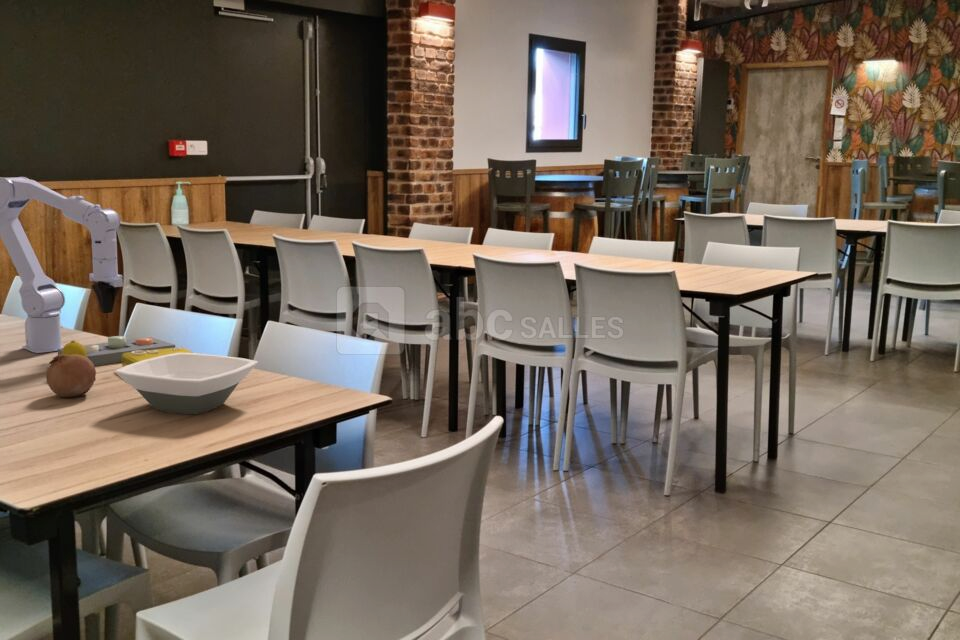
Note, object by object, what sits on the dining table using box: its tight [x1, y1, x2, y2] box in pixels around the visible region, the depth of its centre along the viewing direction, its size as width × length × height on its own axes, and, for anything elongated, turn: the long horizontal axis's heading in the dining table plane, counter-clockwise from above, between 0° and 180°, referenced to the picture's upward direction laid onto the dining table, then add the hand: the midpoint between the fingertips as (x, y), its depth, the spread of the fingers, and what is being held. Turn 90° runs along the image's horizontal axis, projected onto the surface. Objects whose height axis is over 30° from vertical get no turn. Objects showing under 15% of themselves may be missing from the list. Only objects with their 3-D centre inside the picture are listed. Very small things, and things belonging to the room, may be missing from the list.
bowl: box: [114, 352, 259, 415], centre depth 191 cm, size 22×23×8 cm
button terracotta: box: [134, 337, 153, 346], centre depth 241 cm, size 4×4×3 cm
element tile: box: [121, 346, 194, 368], centre depth 221 cm, size 15×15×5 cm
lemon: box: [61, 340, 87, 357], centre depth 215 cm, size 6×6×8 cm
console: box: [57, 336, 176, 367], centre depth 236 cm, size 13×24×2 cm, turn 135°
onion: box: [45, 354, 97, 399], centre depth 197 cm, size 10×9×10 cm
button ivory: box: [82, 343, 99, 353], centre depth 231 cm, size 4×4×3 cm
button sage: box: [107, 335, 127, 350], centre depth 236 cm, size 4×4×3 cm
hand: (107, 312), depth 238 cm, fingers closed
